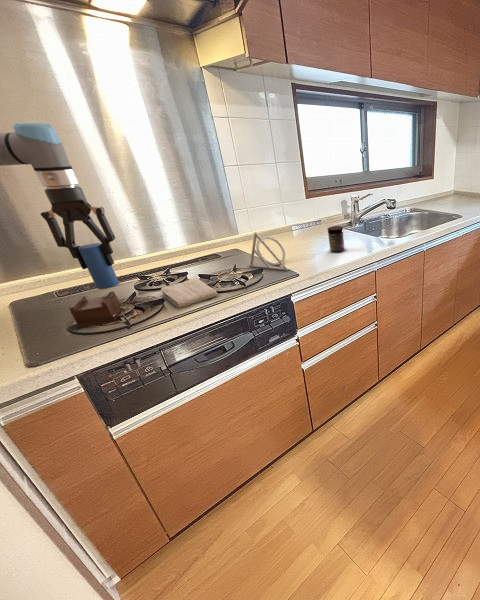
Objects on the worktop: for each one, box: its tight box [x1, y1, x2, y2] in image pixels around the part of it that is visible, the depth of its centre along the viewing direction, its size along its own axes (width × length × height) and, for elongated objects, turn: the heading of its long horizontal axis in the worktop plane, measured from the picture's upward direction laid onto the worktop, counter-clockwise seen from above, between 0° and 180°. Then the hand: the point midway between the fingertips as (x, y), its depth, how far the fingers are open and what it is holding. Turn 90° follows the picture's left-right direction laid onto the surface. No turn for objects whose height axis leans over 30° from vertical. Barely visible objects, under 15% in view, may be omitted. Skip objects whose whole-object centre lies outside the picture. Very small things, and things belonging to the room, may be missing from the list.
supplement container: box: [327, 225, 346, 254], centre depth 146 cm, size 7×7×10 cm
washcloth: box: [160, 278, 219, 308], centre depth 106 cm, size 12×18×3 cm, turn 50°
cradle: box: [68, 290, 123, 329], centre depth 93 cm, size 8×8×6 cm
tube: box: [78, 242, 120, 290], centre depth 100 cm, size 13×6×6 cm
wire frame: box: [249, 232, 289, 271], centre depth 131 cm, size 18×13×16 cm
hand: (98, 265), depth 99 cm, fingers closed on tube, 6 cm apart
